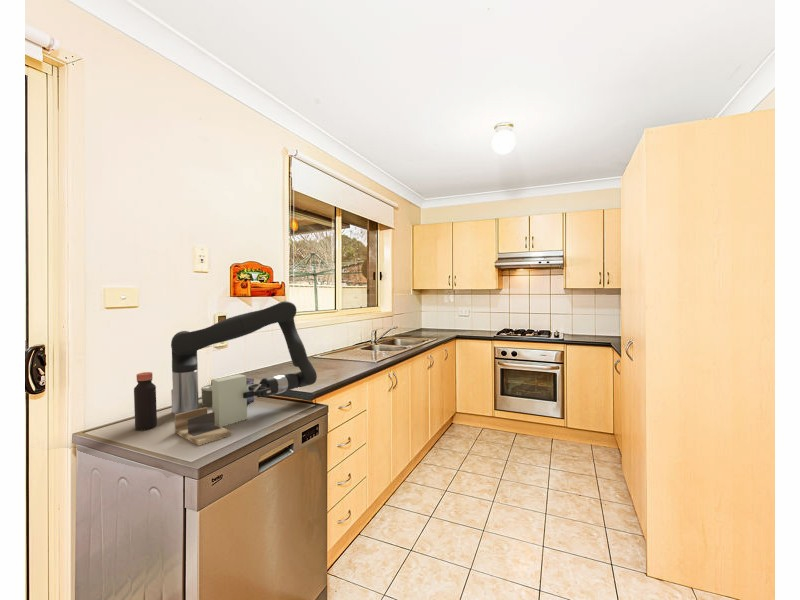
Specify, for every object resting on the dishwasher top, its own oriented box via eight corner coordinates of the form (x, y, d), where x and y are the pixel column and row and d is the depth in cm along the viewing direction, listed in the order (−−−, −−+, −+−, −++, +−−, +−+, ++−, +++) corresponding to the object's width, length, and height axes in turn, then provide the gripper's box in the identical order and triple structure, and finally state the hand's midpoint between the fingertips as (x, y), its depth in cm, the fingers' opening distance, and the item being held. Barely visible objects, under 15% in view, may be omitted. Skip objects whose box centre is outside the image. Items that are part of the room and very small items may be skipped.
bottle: (161, 425, 148) (159, 372, 147) (144, 431, 141) (142, 376, 141) (147, 423, 150) (145, 371, 149) (130, 429, 143) (128, 375, 143)
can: (226, 405, 172) (226, 389, 171) (197, 406, 170) (197, 391, 169) (234, 397, 183) (233, 382, 183) (206, 398, 182) (206, 384, 181)
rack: (175, 432, 140) (174, 414, 140) (206, 424, 149) (206, 407, 148) (198, 445, 129) (198, 426, 129) (230, 435, 137) (230, 417, 137)
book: (212, 424, 149) (211, 379, 148) (240, 416, 157) (239, 374, 156) (219, 427, 145) (218, 381, 145) (247, 419, 154) (246, 375, 153)
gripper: (264, 374, 170) (228, 381, 158) (284, 379, 162) (247, 387, 149) (264, 391, 171) (228, 399, 158) (284, 397, 162) (247, 406, 149)
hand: (237, 393), depth 154 cm, fingers open, 8 cm apart
